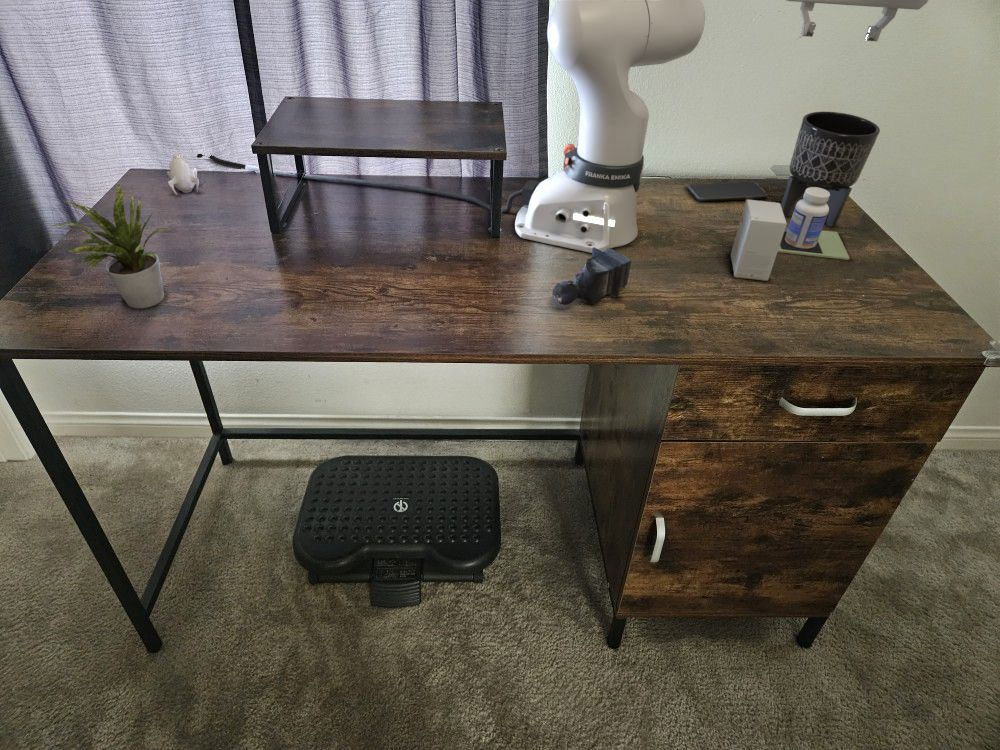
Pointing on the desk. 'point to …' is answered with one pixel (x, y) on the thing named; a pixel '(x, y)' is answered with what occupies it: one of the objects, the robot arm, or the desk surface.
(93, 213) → the house plant
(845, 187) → the planter
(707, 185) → the smartphone
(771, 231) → the small box
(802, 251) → the felt pad
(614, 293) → the dark statue fragment
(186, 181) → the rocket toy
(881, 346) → the desk surface
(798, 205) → the pill bottle
